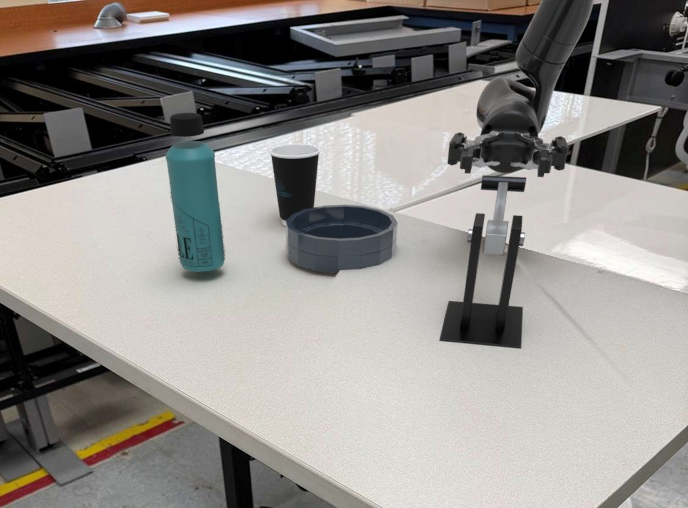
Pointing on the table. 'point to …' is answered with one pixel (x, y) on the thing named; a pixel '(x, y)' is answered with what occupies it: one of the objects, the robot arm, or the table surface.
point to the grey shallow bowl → (340, 237)
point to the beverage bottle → (195, 197)
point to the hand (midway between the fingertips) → (505, 166)
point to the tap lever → (499, 210)
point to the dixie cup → (294, 177)
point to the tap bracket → (486, 319)
